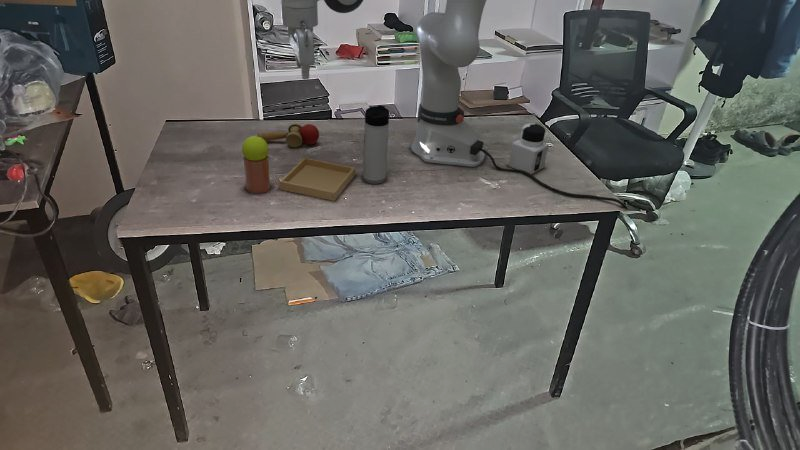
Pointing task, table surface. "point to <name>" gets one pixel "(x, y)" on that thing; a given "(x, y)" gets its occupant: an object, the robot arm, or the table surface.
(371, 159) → the travel mug
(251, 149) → the tennis ball
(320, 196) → the tray
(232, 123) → the table surface
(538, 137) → the container
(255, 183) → the cup
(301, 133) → the kendama
